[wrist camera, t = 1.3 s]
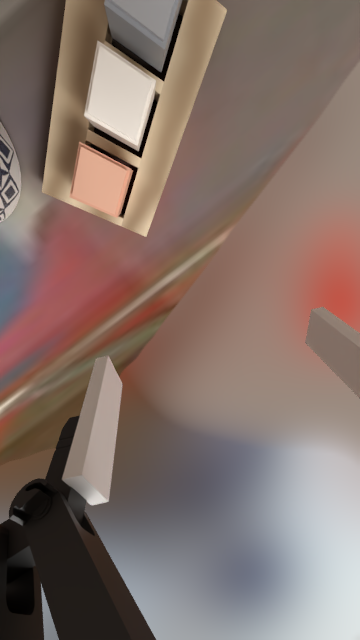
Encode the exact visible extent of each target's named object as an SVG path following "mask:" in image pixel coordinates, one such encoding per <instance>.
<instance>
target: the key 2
mask: <svg viewBox="0 0 360 640" xmlns="http://www.w3.org/2000/svg"><path fill="white" fill-rule="evenodd" d="M181 3H182V0H105V2H104V6H105V10H106V15H107V19H108V23H109V28H110V32H111V36H112V38H113V39H115V40H116V41H117V42H119V43H120V44H122V45H123V46H124V47H126V48H127V49H129V50H130V51H131V52H133V53H134V54H136V55H137V56H139V57H140V58H141V59H143V60H144V61H146V62H147V63H148V64H150V65H151V66H153V67H154V68H155V69H157V70H158V71H160V72H162V69H163V65H164V62H165V58H166V55H167V52H168V48H169V45H170V41H171V38H172V34H173V31H174V27H175V24H176V20H177V17H178V14H179V10H180V7H181Z"/></svg>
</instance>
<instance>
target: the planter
mask: <svg viewBox="0 0 360 640" xmlns="http://www.w3.org/2000/svg"><path fill="white" fill-rule="evenodd" d="M20 191H21V172H20V166H19V161H18V158H17V155H16V152H15V149H14V147H13V144H12V142H11V140H10V138H9V136H8V134H7V132H6V130H5V129H4V127H3V125H2V124H1V122H0V222H2V221H3V220H5V219H6V218H7V217H8V216H9V215H10V214H11V213H12V212H13V210H14V209H15V207H16V205H17V203H18V200H19V197H20Z"/></svg>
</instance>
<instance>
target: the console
mask: <svg viewBox="0 0 360 640" xmlns="http://www.w3.org/2000/svg"><path fill="white" fill-rule="evenodd" d="M104 2H105V0H66V5H65V13H64V21H63V28H62V36H61V44H60V52H59V60H58V68H57V76H56V84H55V92H54V100H53V108H52V116H51V124H50V131H49V139H48V147H47V155H46V163H45V171H44V179H43V187H42V192H43V193H45V194H48V195H50V196H52V197H55V198H57V199H59V200H62V201H64V202H66V203H68V204H71V205H73V206H75V207H78V208H80V209H82V210H85V211H87V212H89V213H92V214H94V215H96V216H99V217H101V218H103V219H106V220H108V221H110V222H113V223H115V224H117V225H120V226H122V227H124V228H126V229H129V230H131V231H133V232H136V233H138V234H140V235H143V236H145V237H146V236H147V233H148V230H149V228H150V225H151V222H152V219H153V216H154V214H155V211H156V208H157V205H158V202H159V200H160V197H161V194H162V191H163V189H164V186H165V183H166V180H167V177H168V175H169V172H170V169H171V166H172V163H173V161H174V158H175V155H176V152H177V149H178V147H179V144H180V141H181V138H182V135H183V133H184V130H185V127H186V124H187V121H188V119H189V116H190V113H191V110H192V107H193V105H194V102H195V99H196V96H197V93H198V91H199V88H200V85H201V82H202V79H203V77H204V74H205V71H206V68H207V65H208V63H209V60H210V57H211V54H212V51H213V49H214V46H215V43H216V40H217V37H218V35H219V32H220V29H221V26H222V23H223V21H224V18H225V15H226V12H227V10H226V9H225V8H224V7H223V6H222V5H221V4H220V3H219V2H218V1H216V0H182V3H181V7H180V10H179V14H181V15H182V16H183V20H182V24H181V27H180V30H179V34H178V37H177V40H176V44H175V47H174V50H173V54H172V57H171V60H170V64H169V67H168V71H167V74H166V77H165V81H162V80H161V79H159V78H158V77H156V76H155V75H154V74H152V73H151V72H149V71H148V70H146V69H145V68H144V67H142V66H141V65H139V64H138V63H136V62H135V61H134V60H132V59H131V58H129V57H128V56H126V55H125V54H123V53H122V52H121V51H119V50H118V49H116V48H115V47H113V46H112V45H111V44H112V39H113V38H112V36H111V32H110V28H109V23H108V19H107V15H106V10H105V6H104ZM97 41H99V42H101V43H102V44H104V45H105V46H107V47H108V48H110V49H111V50H113V51H114V52H115V53H117V54H118V55H120V56H121V57H123V58H124V59H126V60H127V61H128V62H130V63H131V64H133V65H134V66H136V67H137V68H139V69H140V70H142V71H143V72H144V73H146V74H147V75H149V76H150V77H152V78H153V79H155V80H156V87H155V95H154V100H156V101H157V102H158V104H157V107H156V111H155V114H154V118H153V121H152V124H151V128H150V131H149V134H148V138H147V141H146V144H145V148H144V151H143V154H142V158H139V157H138V156H136V155H134V154H132V153H130V152H128V151H127V150H125V149H123V148H121V147H119V146H118V145H116V144H114V143H112V142H110V141H108V140H107V139H105V138H103V137H101V136H99V135H98V134H96V133H94V128H95V127H94V126H93V125H92V124H91V123H90V122H89V121H88V120H87V119H86V117H85V116H84V113H85V108H86V102H87V97H88V91H89V85H90V80H91V74H92V69H93V63H94V58H95V52H96V47H97ZM79 142H81V143H83V144H85V145H87V146H89V147H91V144H93V145H95V146H96V147H98V148H100V149H102V150H104V151H106V152H108V153H110V154H112V155H113V156H115V157H117V158H119V159H121V160H123V161H125V162H127V163H128V164H130V165H132V166H134V167H136V168H138V171H137V175H136V178H135V181H134V185H133V188H132V191H131V195H130V198H129V201H128V205H127V208H126V211H125V215H123V214H120V215H119V216H118V217H117V218H116V217H113V216H111V215H109V214H107V213H104V212H102V211H100V210H98V209H95V208H93V207H91V206H88V205H86V204H84V203H82V202H79V201H77V200H75V199H73V198H70V197H69V196H70V191H71V185H72V180H73V174H74V168H75V163H76V157H77V152H78V146H79Z"/></svg>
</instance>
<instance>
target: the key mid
mask: <svg viewBox="0 0 360 640" xmlns="http://www.w3.org/2000/svg"><path fill="white" fill-rule="evenodd" d="M155 87H156V80H155V79H153V78H152V77H150V76H149V75H147V74H146V73H144V72H143V71H142V70H140V69H139V68H137V67H136V66H134V65H133V64H131V63H130V62H128V61H127V60H126V59H124V58H123V57H121V56H120V55H118V54H117V53H115V52H114V51H113V50H111V49H110V48H108V47H107V46H105V45H104V44H102V43H101V42H99V41H97V47H96V52H95V58H94V63H93V69H92V74H91V80H90V85H89V91H88V97H87V102H86V108H85V113H84V116H85V117H86V119H87V120H88V121H89V122H90V123H91V124H92V125H93V126H94V127H96V128H98V129H99V130H101V131H103V132H105V133H106V134H108V135H110V136H112V137H114V138H115V139H117V140H119V141H121V142H123V143H124V144H126V145H128V146H130V147H131V148H133V149H135V150H137V151H139V148H140V145H141V141H142V138H143V134H144V131H145V128H146V124H147V121H148V117H149V114H150V110H151V107H152V103H153V100H154V95H155Z"/></svg>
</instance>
